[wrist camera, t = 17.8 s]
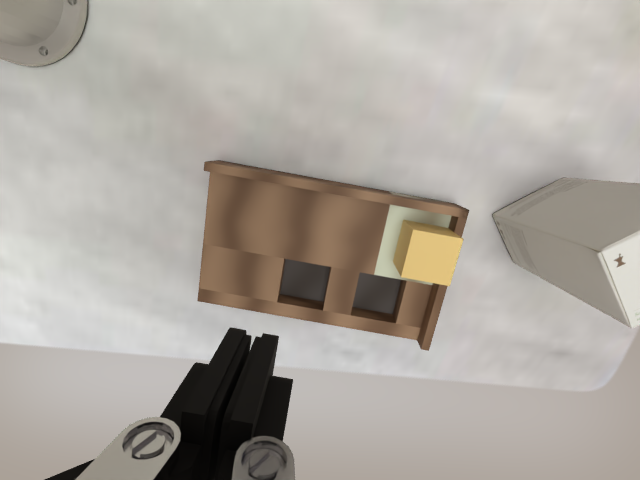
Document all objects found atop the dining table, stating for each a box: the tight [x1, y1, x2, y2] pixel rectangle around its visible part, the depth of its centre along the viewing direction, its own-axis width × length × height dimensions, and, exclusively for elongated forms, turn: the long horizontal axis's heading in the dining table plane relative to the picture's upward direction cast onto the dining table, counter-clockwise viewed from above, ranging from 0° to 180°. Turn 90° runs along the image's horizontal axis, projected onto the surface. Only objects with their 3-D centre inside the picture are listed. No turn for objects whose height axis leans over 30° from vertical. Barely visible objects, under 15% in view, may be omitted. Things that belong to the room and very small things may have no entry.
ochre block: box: [393, 220, 463, 286], centre depth 34 cm, size 4×4×4 cm
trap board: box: [198, 160, 469, 350], centre depth 37 cm, size 25×15×4 cm, turn 80°
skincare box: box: [493, 178, 640, 328], centre depth 30 cm, size 8×7×16 cm
